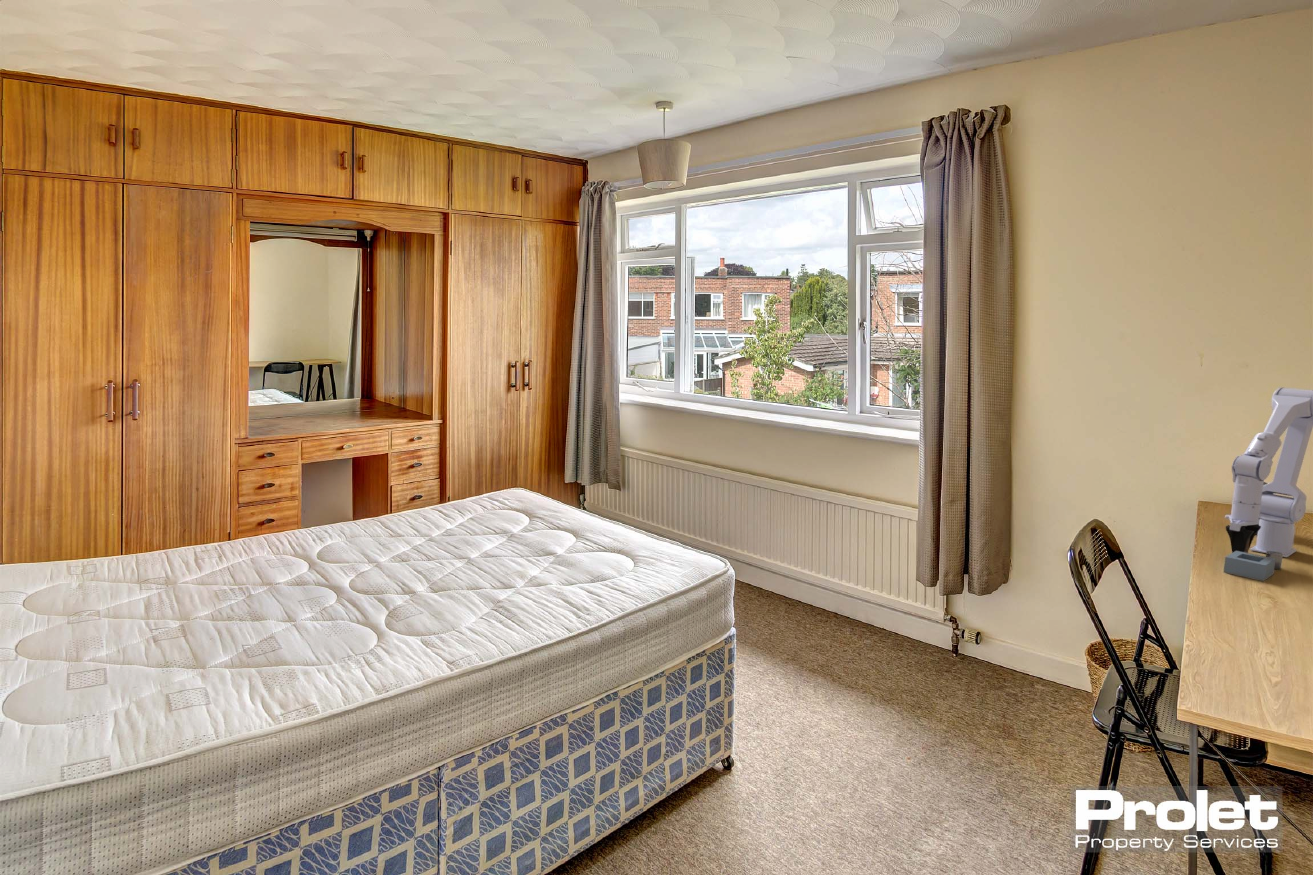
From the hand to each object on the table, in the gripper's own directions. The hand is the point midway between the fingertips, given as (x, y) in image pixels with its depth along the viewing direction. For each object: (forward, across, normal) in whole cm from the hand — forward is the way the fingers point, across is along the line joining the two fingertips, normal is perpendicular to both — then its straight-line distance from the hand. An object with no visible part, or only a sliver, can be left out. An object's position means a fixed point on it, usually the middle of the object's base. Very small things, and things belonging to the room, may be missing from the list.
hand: (1239, 552), depth 194 cm
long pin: (+2, 0, 0) cm, 2 cm away
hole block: (+2, +10, +4) cm, 11 cm away
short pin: (+2, 0, +7) cm, 7 cm away
